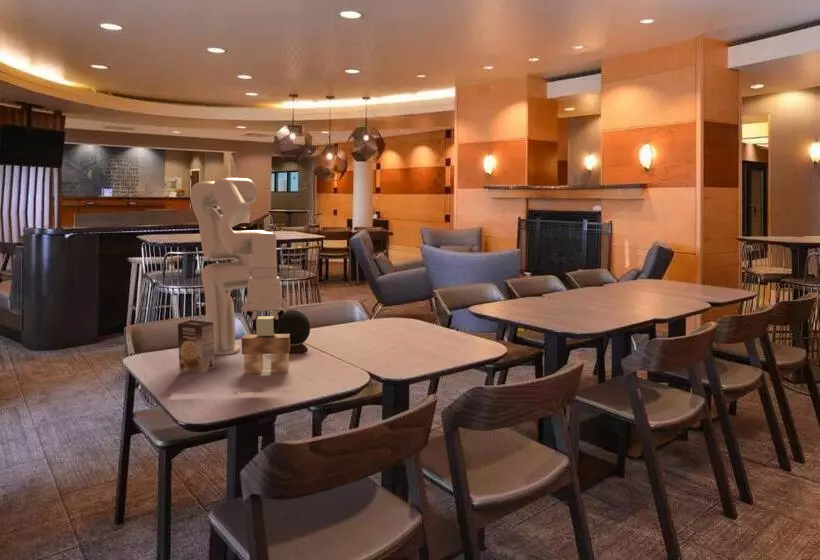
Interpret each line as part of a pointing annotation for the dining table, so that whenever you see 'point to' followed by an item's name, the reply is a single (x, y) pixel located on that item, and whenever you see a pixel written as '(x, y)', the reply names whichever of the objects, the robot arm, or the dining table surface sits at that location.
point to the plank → (266, 344)
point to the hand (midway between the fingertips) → (266, 331)
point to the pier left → (253, 363)
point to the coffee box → (196, 346)
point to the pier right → (279, 363)
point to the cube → (265, 326)
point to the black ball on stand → (294, 330)
